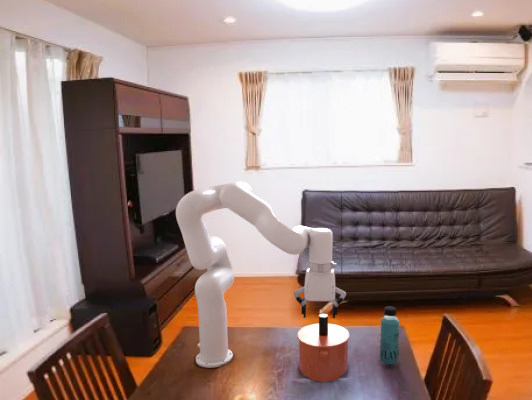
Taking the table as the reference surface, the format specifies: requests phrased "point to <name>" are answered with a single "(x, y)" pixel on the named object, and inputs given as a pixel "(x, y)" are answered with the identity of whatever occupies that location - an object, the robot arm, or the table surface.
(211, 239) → the robot arm
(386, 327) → the beverage bottle
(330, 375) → the dutch oven
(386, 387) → the table surface
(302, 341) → the lid
